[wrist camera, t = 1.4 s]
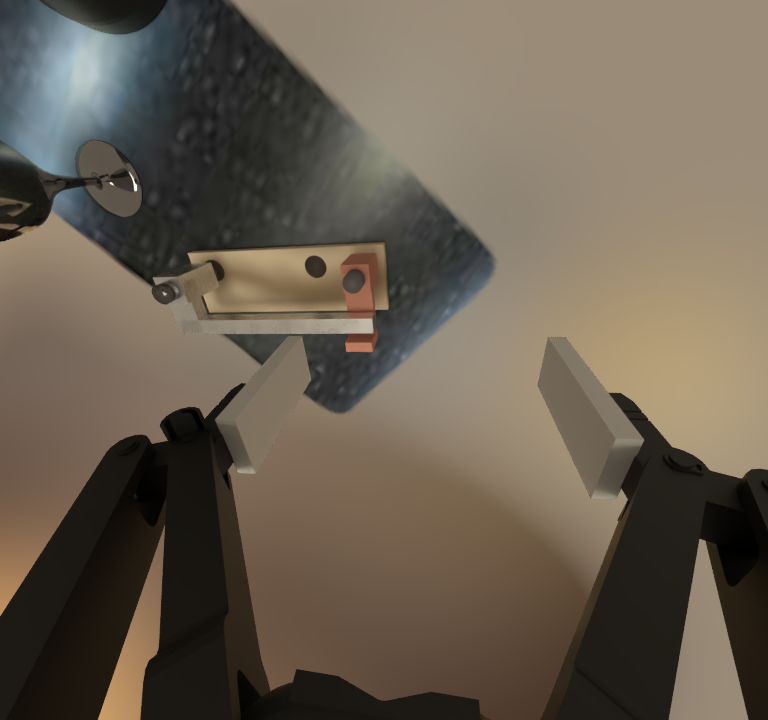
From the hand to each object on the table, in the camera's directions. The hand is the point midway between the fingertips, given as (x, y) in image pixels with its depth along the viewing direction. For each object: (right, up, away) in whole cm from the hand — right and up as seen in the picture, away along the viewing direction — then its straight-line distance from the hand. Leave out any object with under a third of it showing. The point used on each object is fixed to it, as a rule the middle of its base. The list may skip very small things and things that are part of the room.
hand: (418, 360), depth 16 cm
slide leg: (-4, +7, +18) cm, 20 cm away
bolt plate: (-12, +9, +20) cm, 26 cm away
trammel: (-12, +9, +19) cm, 24 cm away
